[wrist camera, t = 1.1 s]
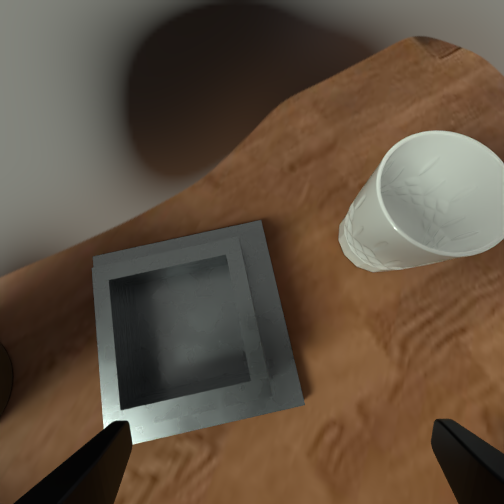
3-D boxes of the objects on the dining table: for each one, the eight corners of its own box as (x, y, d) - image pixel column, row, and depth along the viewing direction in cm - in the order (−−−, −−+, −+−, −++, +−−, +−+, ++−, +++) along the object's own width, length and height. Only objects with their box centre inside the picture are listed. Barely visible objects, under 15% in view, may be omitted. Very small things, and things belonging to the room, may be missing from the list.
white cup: (382, 185, 26) (455, 109, 16) (434, 251, 24) (549, 211, 15) (315, 224, 25) (349, 169, 16) (363, 295, 24) (436, 283, 14)
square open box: (303, 400, 22) (315, 426, 17) (114, 443, 22) (71, 482, 17) (261, 223, 25) (261, 202, 21) (99, 258, 25) (60, 245, 20)
